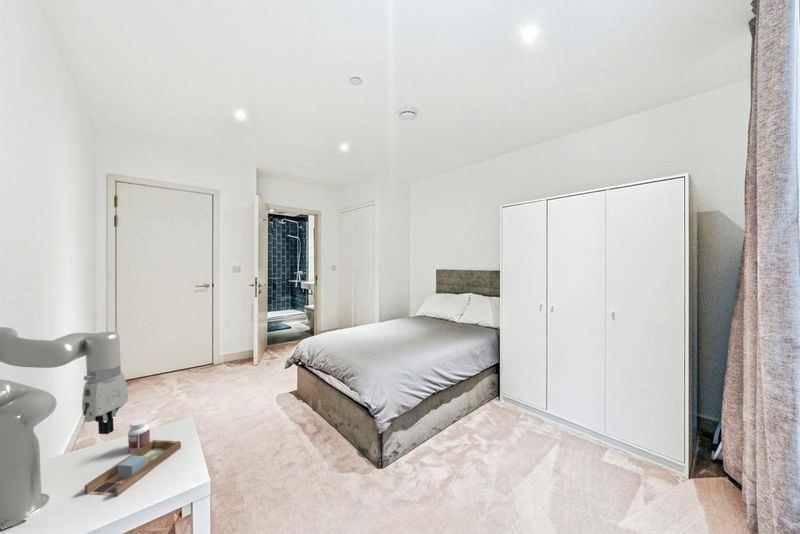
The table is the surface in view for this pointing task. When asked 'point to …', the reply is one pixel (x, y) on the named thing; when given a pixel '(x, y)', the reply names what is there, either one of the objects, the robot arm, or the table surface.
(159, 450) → the box
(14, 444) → the robot arm
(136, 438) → the pill bottle
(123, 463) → the block
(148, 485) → the table surface
